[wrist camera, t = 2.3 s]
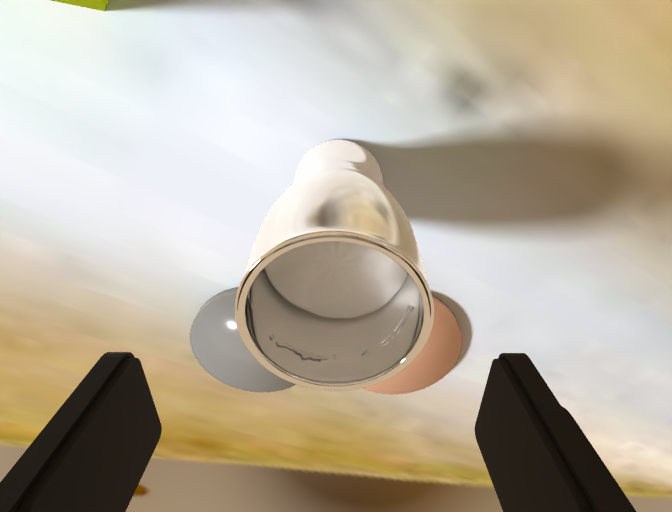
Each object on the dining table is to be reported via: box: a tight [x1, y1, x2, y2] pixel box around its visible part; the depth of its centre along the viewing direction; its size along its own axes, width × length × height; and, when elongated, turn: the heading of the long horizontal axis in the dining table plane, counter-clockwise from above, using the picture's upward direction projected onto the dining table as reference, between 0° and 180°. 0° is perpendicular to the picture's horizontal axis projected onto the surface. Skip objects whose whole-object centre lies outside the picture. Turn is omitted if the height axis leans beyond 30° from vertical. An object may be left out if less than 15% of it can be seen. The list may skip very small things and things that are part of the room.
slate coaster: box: [190, 287, 296, 392], centre depth 31 cm, size 11×11×1 cm
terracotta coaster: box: [363, 296, 462, 394], centre depth 31 cm, size 11×11×1 cm
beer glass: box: [235, 140, 434, 391], centre depth 19 cm, size 7×7×15 cm
